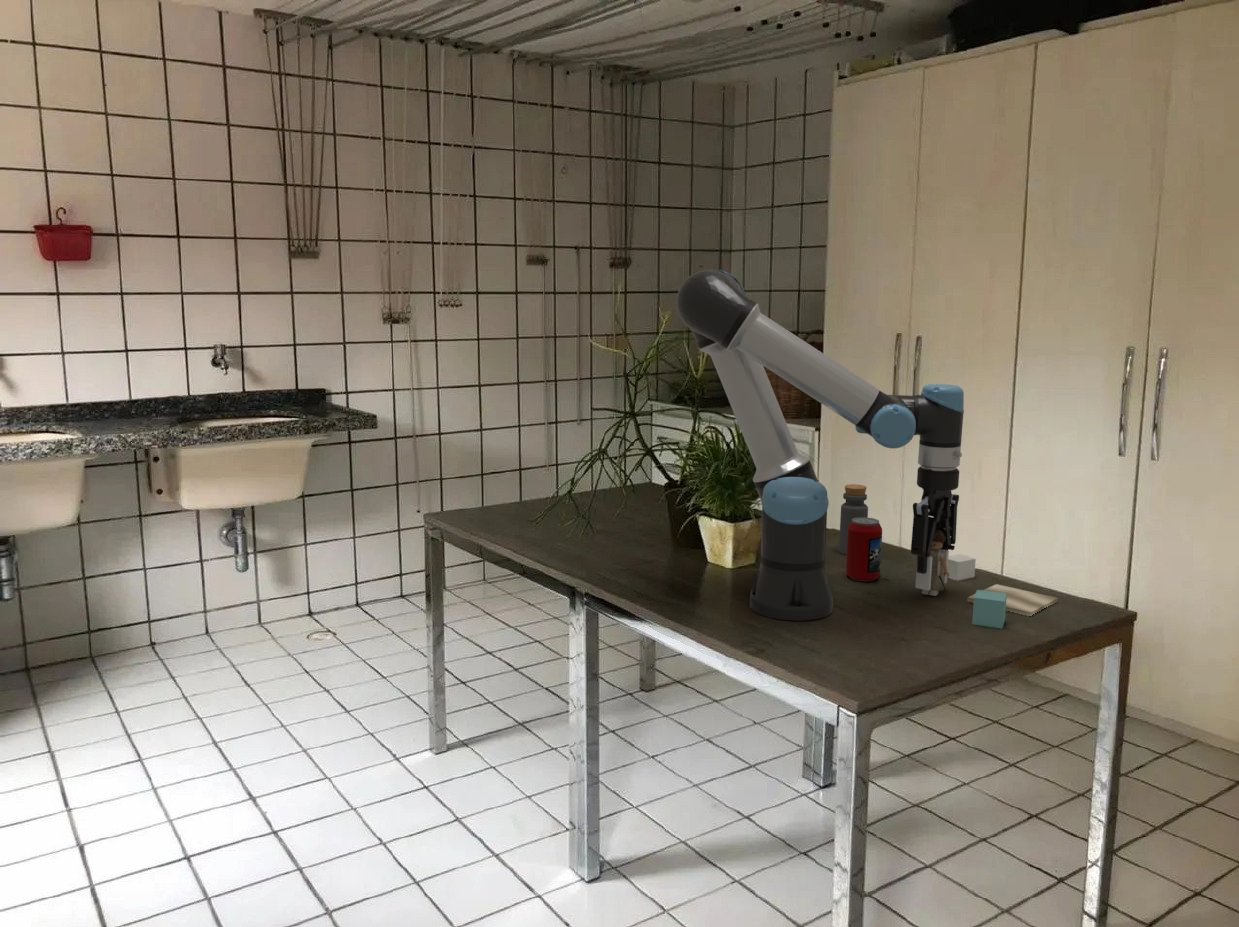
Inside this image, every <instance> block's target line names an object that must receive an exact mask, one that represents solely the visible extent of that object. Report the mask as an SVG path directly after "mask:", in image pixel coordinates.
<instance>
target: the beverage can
mask: <svg viewBox="0 0 1239 927" xmlns="http://www.w3.org/2000/svg"><path fill="white" fill-rule="evenodd" d="M882 543H883V528H882V526H881V524H880V520H878V519H876V518H873V517H868V518H866V517H859V518H853V519H852V522H851V523H850V525H849V527H848V539H847V555H846V562H845V563H846V566H845V568H846V569H845V573H846V575H847V576H848V577H850V579H852V580H855V581H857V582H872V581H875V580H876V579H878V578H879V577H880V576H881V563H882V562H881V561H882V545H883V544H882Z"/></svg>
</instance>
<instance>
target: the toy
mask: <svg viewBox="0 0 1239 927" xmlns="http://www.w3.org/2000/svg"><path fill="white" fill-rule="evenodd" d="M937 526H938V525H937ZM940 526H941V524H940ZM945 526H946V525H945ZM948 527H949V526H948ZM942 528H943V527H942ZM950 528H951V527H950ZM938 529H940V527H939V528H938ZM938 529H937V528H936V529H935V533H934V538H933V543H932V548H931V552H930V556H931V557H932V573H931V588H930V590H929V591H927V590H923V589H921V590H922V591H921V594H922V595H927V596H928V595H929V596H935V597H936V596H937V595H938V594H939V590H940V586H939V585H940V583H939V578H940V580H941V582H942V583H941V585H942V587H943V589H944V592H945V594H946V595H947V589H946V586H945V584H944V583H943V581H942V579H941V576H940V575H941V574H942V572H943V569H944V571H945V572H944V573H943V574H944V576H945V575H946V574H947V575H946V577H949V573H948V572H947V566H946V560H945V558H944V555H943V553H942V552H941V550H939V549H940V548H942V546H943V544H944V541H946V540H945V539H946V537H945V535H944V533H943V532H942V531H941V530H938ZM944 529H945V528H944ZM945 530H946V529H945ZM952 531H953V530H952ZM951 536H952V535H951ZM951 536H950V537H951Z"/></svg>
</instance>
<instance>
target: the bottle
mask: <svg viewBox="0 0 1239 927" xmlns="http://www.w3.org/2000/svg"><path fill="white" fill-rule="evenodd" d="M867 488H868V487H867V486H866V485H863V484H856V483H854V484H850V483H849V484H846V485H844V490H845V491H844V493H843V495H842V498H843V499H844V500H845V502H843V503H842V504H841V505H840V522H839V540H838V541H839V542H838V544H839V546H838V552H839V553H840V554H842V555H846V556H847V539H848V527H849V525H850V523H851V522H852V519H853V518H859V517H866V518H869V516H868V515H869V506H868V505H867V504H865V501H867V499H868V494H866V491H867Z"/></svg>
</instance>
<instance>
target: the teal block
mask: <svg viewBox="0 0 1239 927" xmlns="http://www.w3.org/2000/svg"><path fill="white" fill-rule="evenodd" d="M983 590H984V589H976V592H975V593H974V594H975V596H974V603H973V604H972V606H973V607H972V622H971V625H975V626H981V627H988V628H995V629H1001V630H1002V629H1003V627H1004V624H1005V620H1006V612H1007V611H1006V599H1007V593H999V592H991V591H983Z"/></svg>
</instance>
